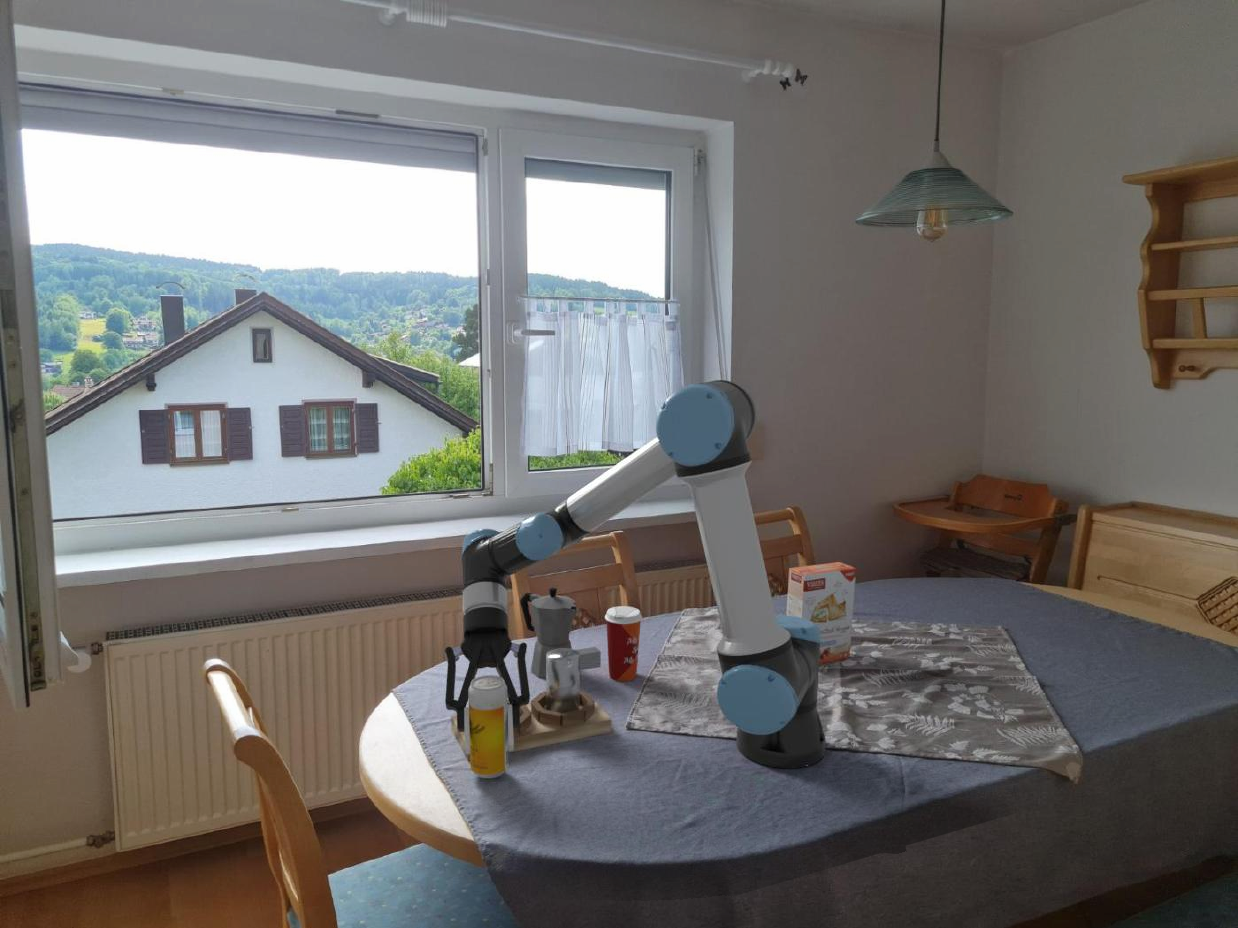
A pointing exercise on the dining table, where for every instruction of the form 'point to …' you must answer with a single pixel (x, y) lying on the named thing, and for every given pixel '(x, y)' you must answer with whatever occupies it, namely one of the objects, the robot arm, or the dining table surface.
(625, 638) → the paper cup
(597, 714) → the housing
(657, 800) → the dining table surface
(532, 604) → the coffeepot
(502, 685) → the beer can
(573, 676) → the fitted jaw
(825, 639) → the cracker box
